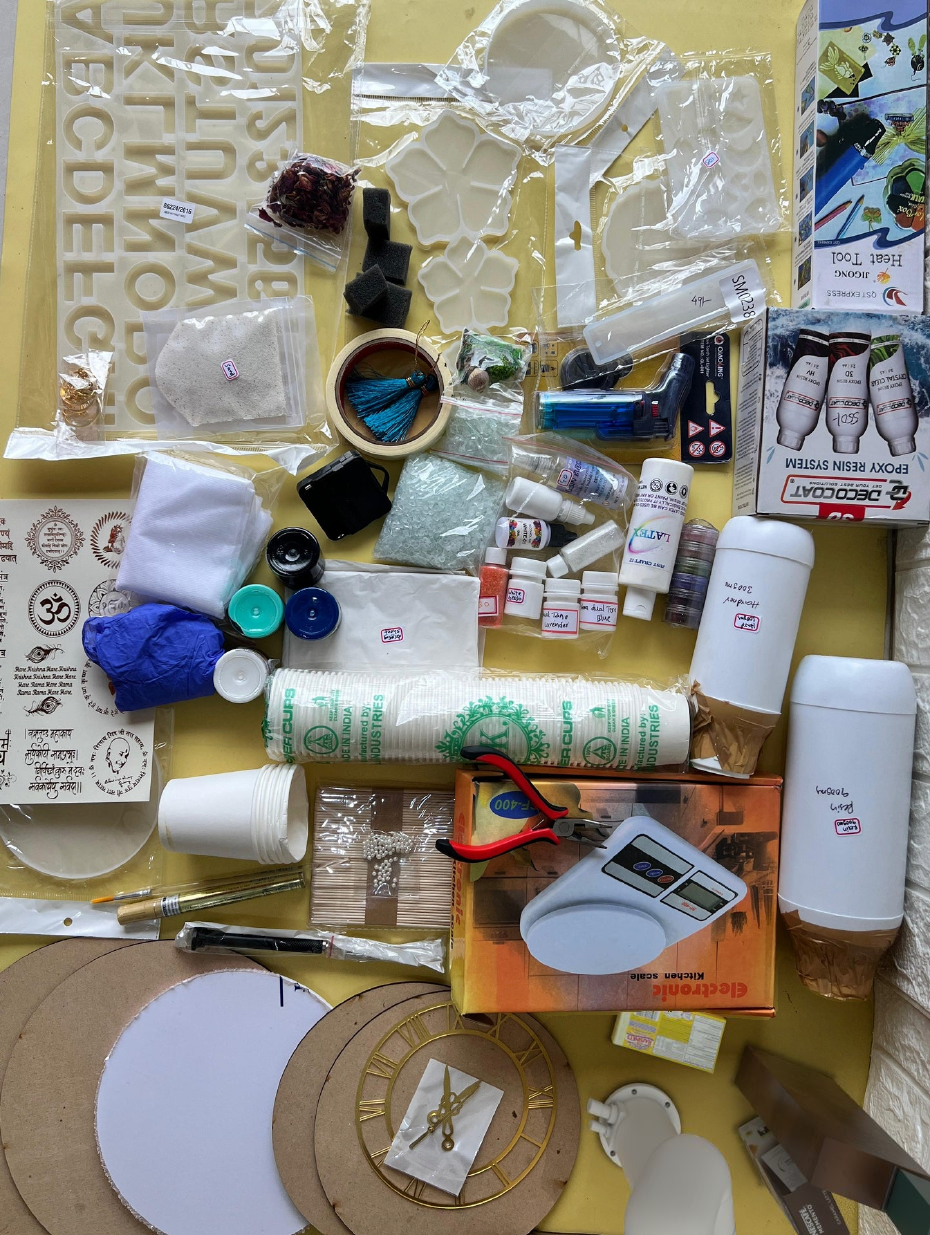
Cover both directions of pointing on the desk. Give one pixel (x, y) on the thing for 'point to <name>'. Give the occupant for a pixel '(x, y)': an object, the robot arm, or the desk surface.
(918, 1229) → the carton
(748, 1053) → the brown slanted block
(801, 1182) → the coffee box
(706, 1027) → the candy box
